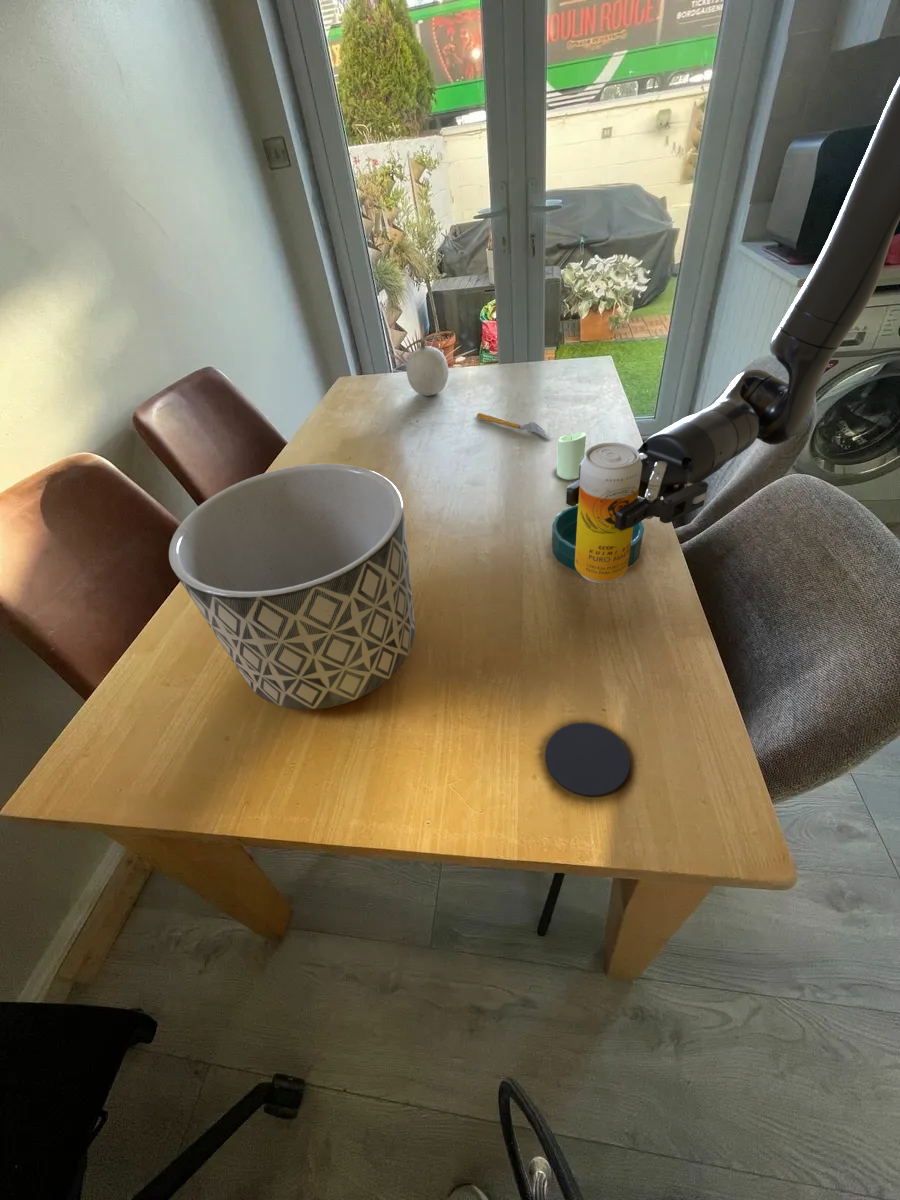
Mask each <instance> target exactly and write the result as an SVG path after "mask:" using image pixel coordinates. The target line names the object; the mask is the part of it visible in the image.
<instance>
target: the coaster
mask: <svg viewBox="0 0 900 1200" xmlns="http://www.w3.org/2000/svg"><path fill="white" fill-rule="evenodd" d="M544 756H545V757H544V758H545V765H546V767H547V771H548V772H549V775H550V776H551V777H552V779H553V780H554V781H555V782H557V784H558V785H559V786H561V787H562V788H563V789H565V790H566V791H568V792H570V793H572V794H575V795H578V796H582V797H588V798H599V797H604V796H607V795H610V794H612V793H613V792H616V791H617V790H618V789H619V788H621V786H622V785H624V783H625V782H626V780H627V778H628V775H629V772H630V769H631V768H630V767H631V766H630V765H631V762H630V759H631V758H630V754H629V751H628V748H626V746H625V744H624V743H623V741H622V740H621V738H619V737H618V736H617V735H616V734H615V733H613V732H612V731H611V730H609V729H607V728H606V727H604V726H601V725H598V724H595V723H590V722H577V723H571V724H568V725H565V726H562V727H560V728H559V729H558V730H556V732H555V733H553V734H552V735H551V737H550V738H549V740H548V741H547V744H546V747H545V753H544Z"/></svg>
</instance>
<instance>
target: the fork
mask: <svg viewBox="0 0 900 1200" xmlns="http://www.w3.org/2000/svg"><path fill="white" fill-rule="evenodd" d="M476 418H477V419H478V420H481V421H484V422H485V421H486V422H490V423H494V424H498V425H502V426H505V427H510V428H515V429H518V430H523V431H530V432H533V433H536V434H538V435H540V436H542V437H543V438H544V439H545V440H547V437H546V436H547V435H546V431H545V430H544V429H543V428H542V427H541V426H540V425H539V424H538V423H537V422H535V421H529V422H527V423H525V424H520V423H517V422H513V421H510V420H507V419H503V418H500V417H497V416H493V415H490V414H486V413H483V412H477V413H476Z"/></svg>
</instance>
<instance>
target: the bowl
mask: <svg viewBox="0 0 900 1200" xmlns="http://www.w3.org/2000/svg"><path fill="white" fill-rule="evenodd" d="M577 518H578V504H577V505H575V506H573V507H572V506H570V507H568V508H565V509H563V510H562V511H560V512H559V513H558V514H557V515H556V516H555V518H554V520H553V522H552V528H551V550H552V554H553V555H554V558H555V559H556V560H557V562H559V563H560V564H561V565H563V566H564V567H565V568H568V569H571V570H573V571H575V572H578V571H577V569H576V567H575V551H576V534H577ZM644 532H645V526H644V524H643V520H642V521H641V522H639V523H638V524H636V525H635V526H633V533H632V540H631V547H630V554H629V561H628V568H630V567H632V566H633V565H634V564H635V563H636V562H637V561H638V560H639V558H640V555H641V549H642V545H643V544H642V543H643V538H644Z"/></svg>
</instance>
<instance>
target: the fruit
mask: <svg viewBox="0 0 900 1200" xmlns="http://www.w3.org/2000/svg"><path fill="white" fill-rule="evenodd" d="M440 338H443V335H439V336H427V337H422V338H419V339H418V340H415V341H414V342H412V343H410V344H409V345H408V346H407V347H406V348H404V350H403V351H402V353H401V354H400V358H402V357H403V355H404V354H405V352H406V351H407V350H408V349H409V348H411V347H412V346H414V345H416V344H418V343H420V347H418V348H417V349H415V350H414V351H412V352H411V353H410V355H409V357H408V358H407V361H406V376H407V381H408V383H409V385H410V387H411V388H412V390H413V391H414V392H415V393H417V394H419V395H421V396H426V397H427V396H428V397H429V396H435V395H437V394H439V393H440V392H442V390H444V388H445V387H446V385H447V382H448V379H449V365H448V361H447V359H446V356H445V355H444V354H443V352H442V351H441V350H440V349H438V348H437V347H434V346H430V345H425V341H428V340H434V339H440Z"/></svg>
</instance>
